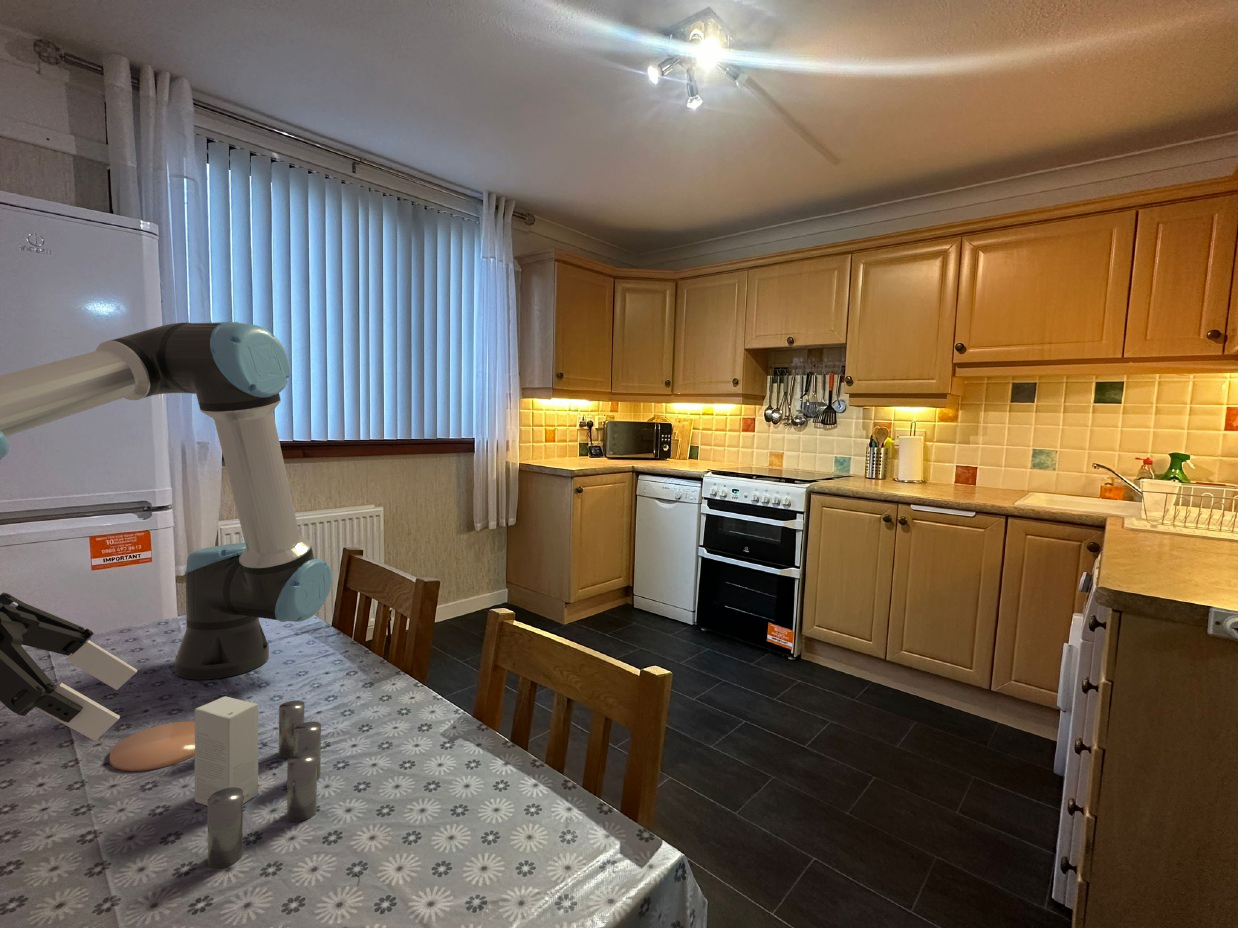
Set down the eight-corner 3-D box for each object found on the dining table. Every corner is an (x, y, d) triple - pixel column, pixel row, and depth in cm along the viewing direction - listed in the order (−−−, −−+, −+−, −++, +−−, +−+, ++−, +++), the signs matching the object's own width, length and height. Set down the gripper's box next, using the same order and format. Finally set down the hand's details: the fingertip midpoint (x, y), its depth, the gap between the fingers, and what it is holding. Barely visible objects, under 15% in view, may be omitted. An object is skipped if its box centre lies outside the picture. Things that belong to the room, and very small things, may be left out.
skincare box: (259, 794, 76) (260, 703, 75) (228, 814, 72) (228, 718, 71) (225, 783, 78) (225, 694, 77) (192, 802, 74) (192, 708, 73)
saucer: (181, 719, 93) (181, 714, 93) (233, 737, 89) (233, 732, 89) (89, 757, 82) (89, 751, 82) (144, 779, 78) (144, 773, 78)
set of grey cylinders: (255, 732, 91) (256, 687, 90) (376, 771, 82) (377, 722, 81) (92, 812, 71) (91, 755, 71) (227, 875, 62) (227, 811, 62)
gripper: (-64, 586, 68) (107, 687, 77) (-195, 662, 48) (61, 788, 57) (0, 538, 71) (158, 641, 80) (-97, 590, 50) (132, 721, 59)
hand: (118, 702), depth 68 cm, fingers open, 13 cm apart
